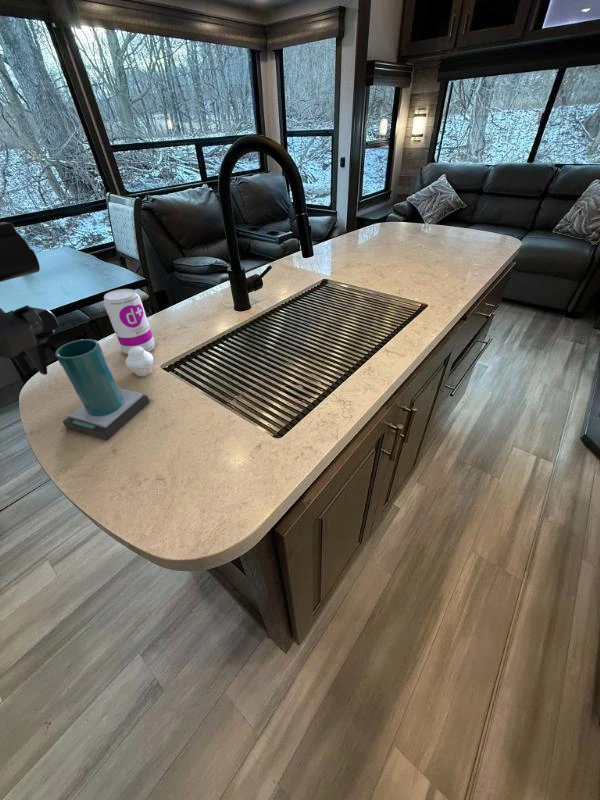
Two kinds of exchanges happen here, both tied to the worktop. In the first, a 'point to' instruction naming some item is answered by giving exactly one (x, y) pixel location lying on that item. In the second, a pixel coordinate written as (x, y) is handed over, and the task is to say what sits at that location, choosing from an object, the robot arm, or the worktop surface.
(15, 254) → the robot arm
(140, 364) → the white frosted cupcake
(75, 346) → the cup
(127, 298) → the supplement can
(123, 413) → the scale
